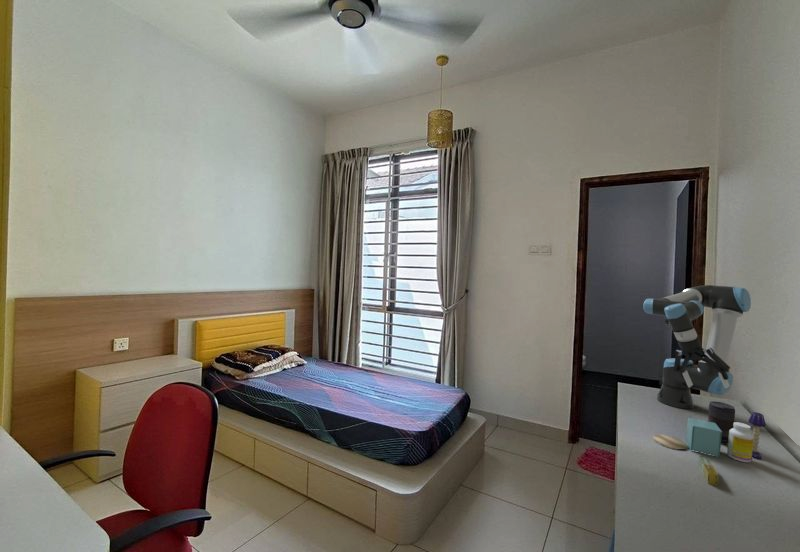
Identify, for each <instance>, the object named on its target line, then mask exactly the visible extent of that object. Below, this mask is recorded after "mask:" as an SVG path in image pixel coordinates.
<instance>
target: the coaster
mask: <svg viewBox="0 0 800 552" xmlns="http://www.w3.org/2000/svg"><path fill="white" fill-rule="evenodd" d="M652 439H653V441H654V440H655V441H656V442H655V441H654V442H655V443H657V442H658V443H660V444H662V445H665V446H667V447H666V448H668V447H671V448H675V449H674V450H676V449H686V450H687V449H688V448H689V447H688V445H687V443H686V441H683V440H681V439H679V438H677V437H674V436H671V435H666V434H653V437H652ZM658 443H657V444H658ZM660 444H659V445H660ZM662 445H661V446H662ZM665 446H664V447H665ZM671 448H670V449H671Z"/></svg>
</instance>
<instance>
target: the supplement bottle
mask: <svg viewBox="0 0 800 552" xmlns="http://www.w3.org/2000/svg"><path fill="white" fill-rule="evenodd" d="M751 429H752V427H751V425H749V424H746V423H743V422H739V421H738V422H737V421H736V422H735V421H734V424H733V428H732V429H730V430H729V440H728V444H727V452H726V454H727V456H728V457H729V458H731V459H733V460H735V461H737V460H738V461H737V462H741V463H747V464H748V463H751V462H752V449H753V439H754V437H753V433H751Z"/></svg>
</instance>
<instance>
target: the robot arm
mask: <svg viewBox="0 0 800 552" xmlns="http://www.w3.org/2000/svg"><path fill="white" fill-rule="evenodd" d="M751 303H752V301H751V294H750V293H749V290H747V288H745V287H738V286H737V287H736V286H725V285H723V286H722V285H711V284H708V285H707V284H706V285H698V286H697V285H696V286H694V287H689V288H686V289H684V290H682V291H681V292H679V293H678V292H677V293H675V294H672V295H667V296H665V297H661V298H646V299H645V300H644V302H643V307H642V308H643V311H644V312H645V313H646V314H649V315H655V316H662V317H666V318H667V321H668V324H669V325H670V328H671V330H672V332H673V334H674V337H675V339H676V341H677V344H678V346H679V348H680V349H676V350H675V351H674V356H675V358H674V357H673V358H666V359H665V360H664V362H663V368H662V369H663V372H662V383H661V384H662V385H661V387H660V389H659V391H658V393H657V395H656V400H657V401H658V402H660V403H662V404H664V405H667V406H670V407H674V408H679V409H693V408H694V399H693V396H692V393H691V389H694V390H699V391H702V392H704V393H705V392H706V393H709V394H710V395H717V396H724V395H726V394H727V393H728V392H729V391H730V389H731V387H732V385H733V382H734V376H733V374H732V373H731V372H730V369H731V366H730V365H728V357H729V354H730V350H731V346H732V341H733V338H734V334H735V329H736V326H737V325H736V324H737V321H738V319H739V318H741V317H742V316H743V315H744V313H748V312H749V311H750V309H751V306H752V305H751ZM705 308H711V311H712V313H713V319H712V323H711V325H710V330H709V334H708V337H707V343H706V347H705V349H704V348H703V346H702V342H701V339H699V337H698V333H697V331H696V329H695V328H694V325H693V321H694V320H696V319H698V318H699V317H701V316H702V315H703V314H704V312H705ZM682 355H683V356H684V358H682ZM694 361H698V363H697V364H694Z"/></svg>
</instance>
